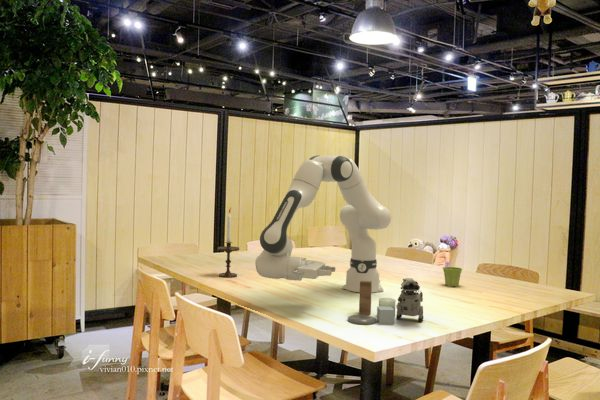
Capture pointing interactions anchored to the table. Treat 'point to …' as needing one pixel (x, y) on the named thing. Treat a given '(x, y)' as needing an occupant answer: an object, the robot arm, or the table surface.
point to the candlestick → (228, 250)
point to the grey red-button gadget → (410, 300)
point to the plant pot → (452, 276)
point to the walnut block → (365, 297)
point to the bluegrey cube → (385, 315)
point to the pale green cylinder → (387, 303)
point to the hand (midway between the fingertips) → (333, 271)
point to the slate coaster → (362, 319)
